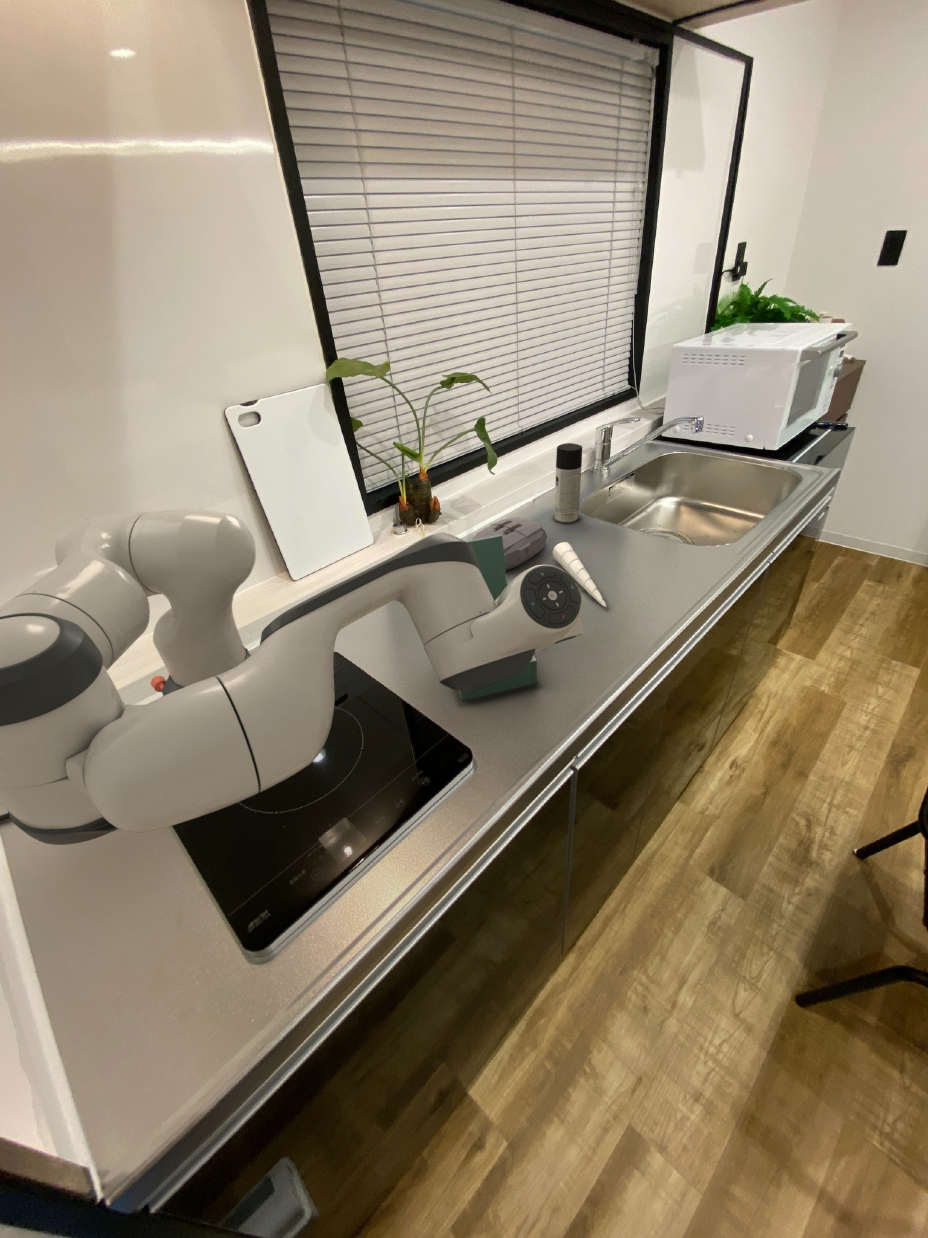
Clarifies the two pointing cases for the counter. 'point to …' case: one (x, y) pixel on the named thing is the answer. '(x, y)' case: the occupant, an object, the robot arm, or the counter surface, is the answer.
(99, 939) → the counter surface
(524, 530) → the grey rounded bag
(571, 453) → the spray can
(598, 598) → the unicorn horn
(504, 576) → the lid
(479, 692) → the chest
